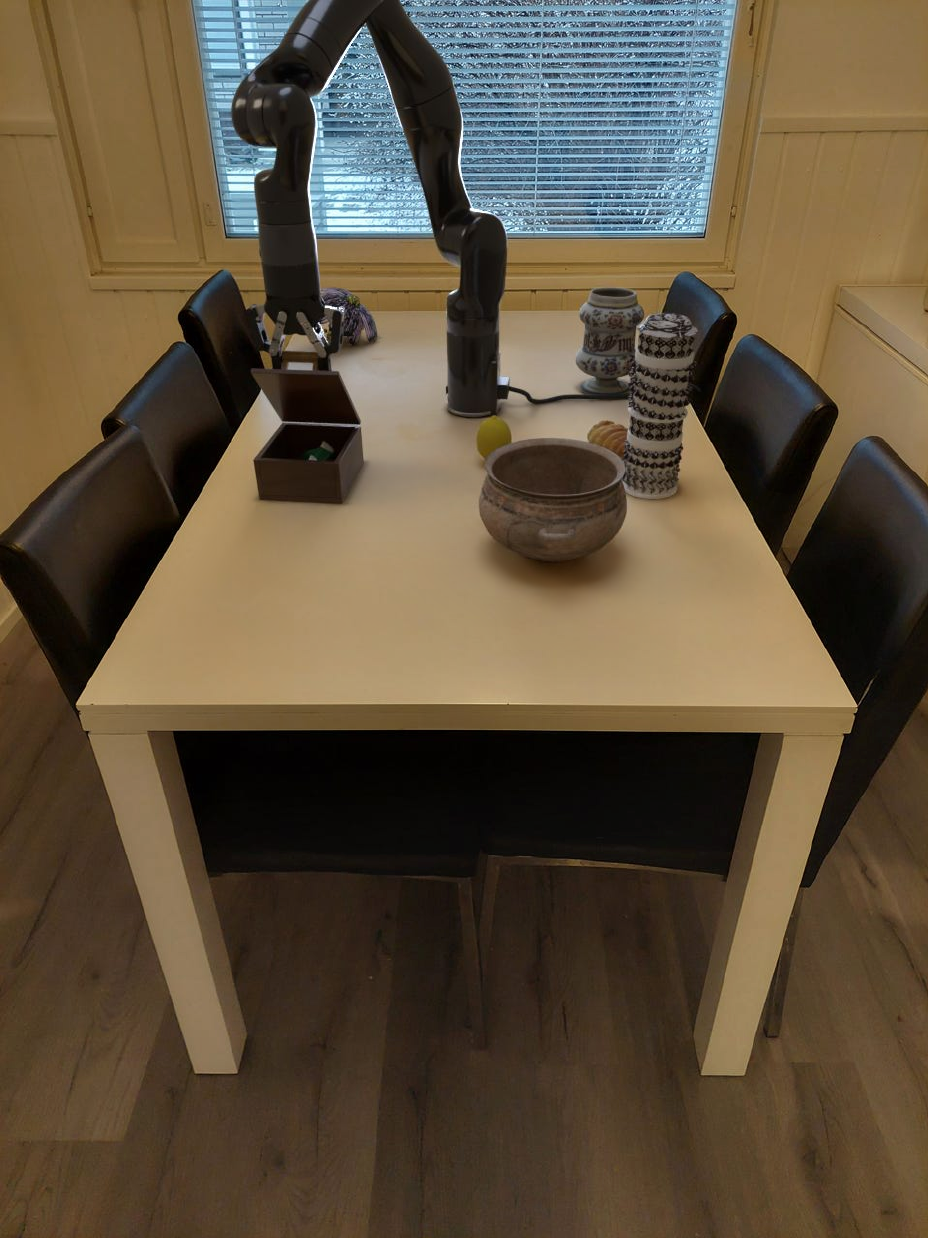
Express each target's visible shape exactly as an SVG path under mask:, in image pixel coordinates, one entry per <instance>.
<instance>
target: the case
mask: <svg viewBox="0 0 928 1238" xmlns="http://www.w3.org/2000/svg"><path fill="white" fill-rule="evenodd" d="M362 434H363V433H362V425H361V424H360V425H354V424H329V423H303V422H282V423H281V424H280V425H279V427H278V428H277V429H276V430H275V431H274V433H273V434H272V436H271V437H270V438H268V441H267V442H266V443H265V444H264V445H263V447H262V448H261V449H260V450H259V452H258V453H257V455H256V456H255V457H254V458H253V460H252V461H253V467H254V468H253V469H254V474H255V480H256V487H257V494H258V499H259V500H268V501H288V502H306V503H307V502H308V503H309V502H310V503H329V504H330V503H331V504H343V503H344V501H345V499H346V498H347V496H348V493H349V492H350V489H351V488H352V486H353V484H354V482H355V480H356V478H357V476H358V474H359V472H360V470H361V469H362V467H363V465H364V463H365V462H364V461H365V460H364V447H363V435H362ZM323 441H324V442H326V443H327V444H329V446H331V447H332V448H333V449H334V451H335V452H334V454H333V456H332V458H330V459H329V461H319V460H301V456H302V454H303V453H305V452H306V451H308V450H313V449H317V448H319V447H320V445H322V443H323Z"/></svg>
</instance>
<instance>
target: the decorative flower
mask: <svg viewBox="0 0 928 1238" xmlns="http://www.w3.org/2000/svg"><path fill="white" fill-rule="evenodd" d="M321 296H322V299H323V301H324V303H325V305H326V306H330V307H335V308H338V307H339V306H343V307H344V308H345V310H346V312H345V322H344V333H343V338H344V337H345V338H346V339H347V341H348V342H347V344H349V345H351V346H352V347H354V346H355V345H356V344H357V343H358V341H359V340H360V337H361V336H362V332H363V330H364V331H365V334H366V338H367V342H368V343H369V344H370V343H371V342H372V341H373V342H375V340H377V338H378V329H377V325H376V321H375V319H374V317H373V315H372V313H371V312H370V310H369V309H368V308H367V307H365V306H364V305H363V304H362V303H361V301H360V298H359V297H358V296H357V295H355V294H353V293H352V292H350V291H348V290H347V289H344V288H342V287H327V288H323V289H321ZM319 323H320V325H325V324H327V323H328V324H327V326H328V329H327V328H322V329H323V331H324V334H326V339H331V330H332V324H330V323H329V322H328V317H327V316H326V315H325V314H324V315H323V317H322V318H321V320H320V321H319Z"/></svg>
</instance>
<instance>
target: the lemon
mask: <svg viewBox="0 0 928 1238" xmlns="http://www.w3.org/2000/svg"><path fill="white" fill-rule="evenodd" d="M476 432H477V433H476V439H475V440H476V441H475V442H476V449H477V451H478V454H479V455H480V456H481V457H482V458H483V459H484V460H485V461H486V458H487V457H488V456H489V454H491V453H492V452H493V451H494V450H496V449H498V448H500V447H502V446H504V445H507V444H510V443H513V442H512V441H513V437H512V431H511V427H510V426H509V424H508V423H507V421H506V420H504V419H502V417H498V416H497V415H491V417H488V418H486V419H484V420H483V421H482V422H481V423H480V424H479V427H478V429H477V431H476Z"/></svg>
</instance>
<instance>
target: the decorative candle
mask: <svg viewBox="0 0 928 1238" xmlns="http://www.w3.org/2000/svg"><path fill="white" fill-rule="evenodd" d="M692 323H693V322H692V321H691V320H690V318H689V317H688V316H685V315H683V314H680V313H675V312H658V313H657V312H656V313H653V314H650V315H648V316H647V317H646V318H645V320H643V322H641V323H640V324H639V325H637V327H636V330H637V331H638V332H639V333H638V338H637V342H638V344H637V348H635V349H636V354H635V356H632V357H631V358H630V362H631V363H630V365H631V366H632V369H631V372H630V373H629V375H628V376H629V378H630V379H629V380H630V381H629V382H628V386H629V391H630V396H629V397H628V398H627V401H628V408H627V412H628V415H629V416H630V418H629V427H628V432H627V440H626V441H625V442H624V444H625V448H626V450H625V451H624V452H623V454H624V458H625V459H623V460H622V461H623V463H624V465H625V473H624V475H623V477H622V478H621V479H622V482H623V485H624V488H625V493H626V495H627V494H628V495H630V496H632V497H636V498H638V499H644V500H645V499H646V500H661V499H666V498H670V497H672V496H673V495H675V494H676V492H677V490H678V482H679V481H680V478H679V473H680V472H681V468H680V463H681V461H682V458H683V457H682V456H681V455H682V454H681V453H682V452H683V450H684V446H683V437H684V436H683V435H684V433H683V426H684V419H686V418H687V417H688V414H689V410H688V409H687V408H686V407H688V406H689V405H691V403H692V400H691V398H690V397H689V396H690V395H691V394H692V393H693V392H694V390H693V388H691V387H690V386H689V385H687V384H688V383H691V382H692V381H694V380H695V379H696V378H697V376H696V374H695V373H694V372H693V371H694V370H696V369H697V368H698V366H699V363H698V362H697V361H695V360H694V356H695V351H694V347H695V341H696V334H697V333H698V332H699V329H698V328H697V327H696V326H694V325H693V324H692ZM635 360H636V361H635ZM636 362H637V365H636Z"/></svg>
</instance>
